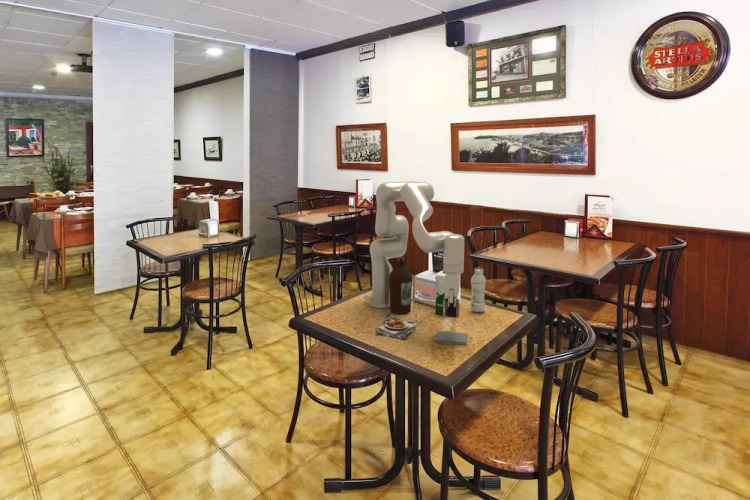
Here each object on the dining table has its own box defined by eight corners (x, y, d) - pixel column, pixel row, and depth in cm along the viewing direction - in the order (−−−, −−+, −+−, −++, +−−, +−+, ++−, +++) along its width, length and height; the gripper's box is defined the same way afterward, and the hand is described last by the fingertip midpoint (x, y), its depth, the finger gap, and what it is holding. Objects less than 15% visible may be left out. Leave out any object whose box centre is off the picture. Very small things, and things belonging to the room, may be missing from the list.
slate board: (434, 342, 168) (434, 339, 168) (436, 333, 177) (436, 330, 177) (466, 345, 165) (466, 342, 165) (467, 336, 174) (467, 333, 174)
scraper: (442, 318, 166) (443, 300, 164) (444, 311, 173) (445, 294, 172) (458, 319, 165) (458, 301, 163) (459, 312, 172) (460, 295, 171)
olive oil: (383, 311, 203) (383, 257, 198) (399, 305, 210) (400, 253, 205) (401, 316, 195) (401, 261, 190) (416, 311, 203) (417, 257, 197)
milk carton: (457, 310, 203) (459, 268, 199) (451, 316, 195) (452, 272, 191) (439, 307, 207) (440, 265, 203) (432, 313, 199) (433, 270, 195)
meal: (406, 329, 170) (374, 325, 175) (406, 339, 171) (375, 335, 176) (417, 316, 184) (388, 313, 188) (417, 326, 184) (388, 322, 189)
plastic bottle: (486, 314, 198) (488, 270, 194) (471, 314, 198) (472, 270, 194) (483, 309, 204) (485, 266, 200) (468, 309, 204) (470, 266, 200)
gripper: (445, 262, 174) (444, 307, 178) (440, 272, 158) (439, 321, 162) (464, 263, 172) (463, 308, 176) (462, 273, 156) (460, 323, 160)
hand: (452, 314), depth 169 cm, fingers closed on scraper, 4 cm apart
